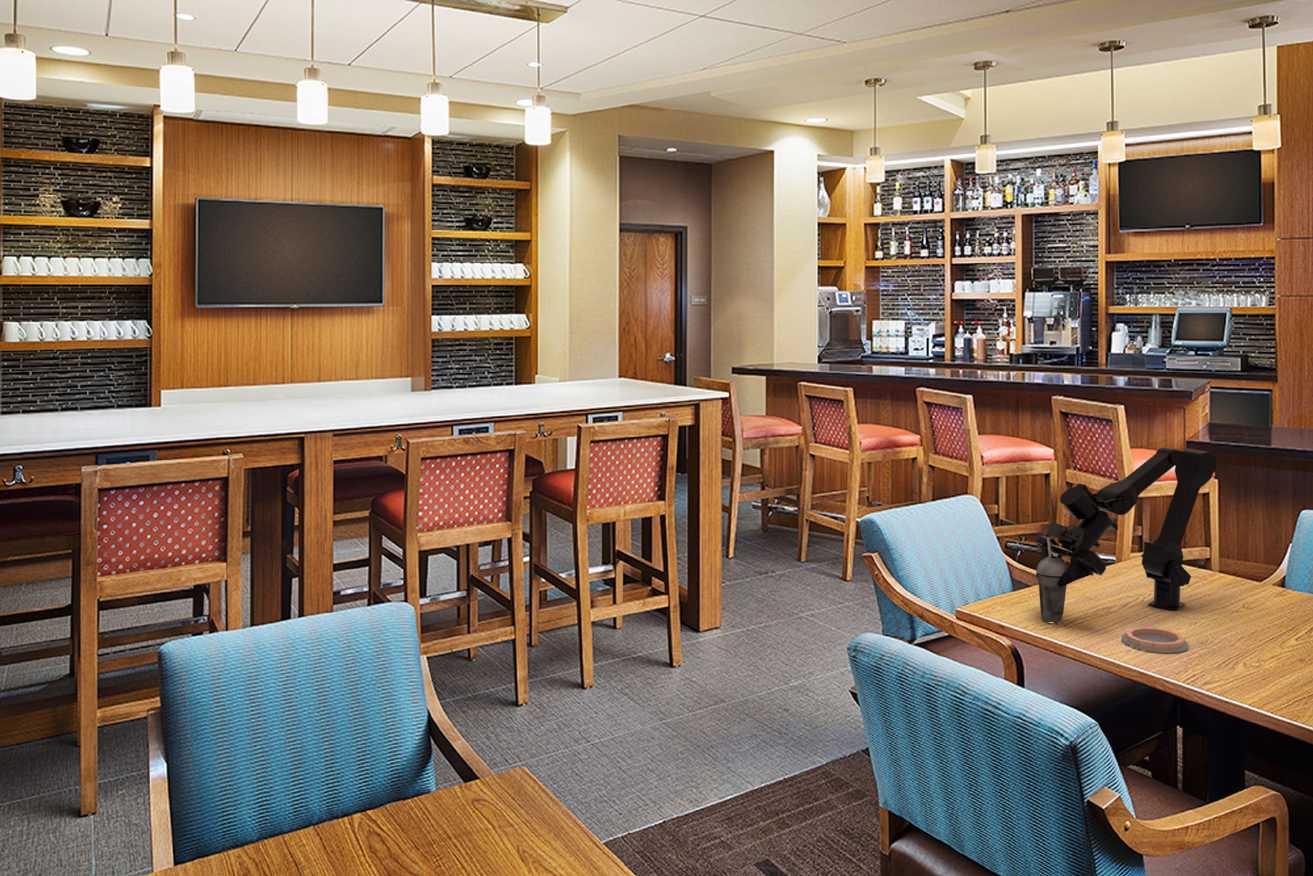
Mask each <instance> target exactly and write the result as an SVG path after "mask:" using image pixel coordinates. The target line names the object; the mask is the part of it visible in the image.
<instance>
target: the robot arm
mask: <svg viewBox="0 0 1313 876" xmlns="http://www.w3.org/2000/svg"><path fill="white" fill-rule="evenodd" d="M1174 467H1175V468H1174ZM1217 467H1218V460H1217V459H1216V457H1215V455H1214V453H1212V452H1209V451H1203V450H1197V449H1191V448H1186V449H1183V450H1182V451H1181V450H1179V449H1177V448H1171V447H1160V448H1159V449H1157V450H1156V453H1154V455H1152V456H1151V457H1150V458H1148V459H1147V460H1146V461H1144V462H1143V463H1142V464H1141V465H1140V466H1138V467H1137V468H1136V469H1135V470H1134V471H1132V472H1131V473H1130V474H1129V475H1127V476H1126V477H1124V478H1123V479H1121V480H1118V481H1115V482H1112V483H1109V484H1108V485H1106V486H1104V487H1102V488H1100V489H1098V491H1097V492H1094V493H1092V491H1090V490H1089V488H1088V486H1087V485H1086V484H1084V483H1077V485H1076V486H1073V487H1070V488H1068V489H1067V490H1066V491H1063V492H1062V493H1061V495H1060V497H1059V502H1060V504H1062V506H1063V507H1064V508H1065V509H1066V510H1067V511H1068V512H1069V513H1070V514H1071V515H1072V517H1073V518H1074V519H1076V520H1080V521H1079V522H1078V524H1077V525H1074V524H1071V523H1070V524H1069V525H1068V526H1066V525H1063V524H1059V523H1056V522H1053V521H1050V522H1049V525H1048V527H1047V530H1046V532H1045V535H1040V536H1039V537H1038V538H1037V539H1036V540H1035V542H1034V544H1035V545H1036V546H1037V547H1038V548H1039V550H1040V551H1041V552H1040V553H1041V559H1040V561H1041V560H1043V559H1044V558H1046V557H1049V552H1048V542H1047V538H1049V539H1050V549H1051V556H1056V557H1059V558H1061V559H1062V558H1064V557H1065V558H1067V559H1069V560H1070V561H1069V565H1068V568H1067V570H1066V571H1065V573H1064V574H1063V575H1062V577H1061V578H1060V580H1059V581H1058V583H1057V585H1058V586H1059V587H1063V586H1065V585H1069V584H1072V583H1074V582H1076V581H1080V580H1081V579H1084V578H1086V577H1090V576H1092V577H1093V576H1094V575H1098V576H1103V574H1104V573H1105V572H1106V570H1107V563H1106V562H1105V561H1104V560H1103V559H1102V558H1101V557H1100V556H1099V554H1097V553H1096V552H1095V551H1093V550H1092V549H1093V548H1094V549H1095V548H1096V549H1098V548H1099V547H1100V546H1101V544H1100V543H1099V540H1100V539H1101V538H1102V537H1103V535H1104V534H1105V533H1106V532H1107V530H1108V529H1109V530H1114V531H1119V530H1118V529H1119V525H1118V522H1117V520H1118V519H1117V518H1116V517H1115V518H1114V517H1112V516H1110V515H1109V514H1108V513H1110V514H1114V515H1117V516H1118V515H1119V516H1125V515H1128V513H1129V512H1130V511H1131V510H1132V508H1134V507H1135V505H1136V504H1137V502H1138V500H1139V496H1140V495H1141V494H1142V493H1143V492H1144V491H1146V490H1147V489H1148V488H1149V487H1150V486H1152V485H1153V484H1154V483H1155V482H1156V481H1159V479H1160V478H1161V477H1163V476H1164V475H1165V474H1166V473H1167V472H1169V471H1170V470H1172V469H1173V468H1174V474H1175V477H1176V486H1175V488H1174V492H1173V495H1172V498H1171V500H1170V504H1169V506H1168V509H1167V513H1166V516H1165V518H1164V521H1163V524H1162V527H1161V530H1160V533H1159V535H1158V537H1157V538H1156V539H1155V540H1154V541H1153V542H1150V541H1147V542H1146V543H1145V546H1144V550H1143V553H1142V554H1141V556H1140V557H1141V558H1142V559H1141V565H1142V566H1143V569H1144V572H1145V576H1146V578H1147V579H1152V580H1153V581H1154V582H1153V583H1154V584H1153V599H1152V600H1151V601H1150V602H1148V606H1151V607H1156V608H1160V609H1166V610H1172V611H1178V610H1180V609H1181V608H1182V607H1184V606H1185V605H1186V604H1185V603H1186V602H1183V601H1181V587H1184V586H1186V585H1187V586H1188V585H1190V581H1191V578H1192V576H1191V574H1190V573H1189V572H1188V571H1187V570H1186V569H1185V567H1183V562H1184V553H1183V549H1182V541H1183V538H1184V535H1185V533H1186V530H1187V527H1188V524H1189V521H1190V518H1191V515H1192V512H1193V510H1194V507H1195V504H1196V500H1197V497H1198V495H1199V492H1200V489H1202V487H1204V486H1205V485H1206V484H1207V483H1208V482H1210V481H1211V479H1212V477H1213V475H1214V473H1215V471H1216V469H1217ZM1046 535H1047V536H1046ZM1048 536H1051V537H1048ZM1052 537H1054V538H1056V540H1055V539H1054V538H1052ZM1060 544H1061V545H1060ZM1035 577H1036V578H1037V573H1036V574H1035Z"/></svg>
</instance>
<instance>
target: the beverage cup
mask: <svg viewBox="0 0 1313 876" xmlns="http://www.w3.org/2000/svg"><path fill="white" fill-rule="evenodd" d="M1049 538H1050V537H1049ZM1049 538H1047V542H1048V552H1049V557H1046V558H1044V559H1043V560H1041V559H1040V562H1039V563H1038V564H1037V566H1036V567H1037V568H1036V572H1035V573H1036V574H1037V577H1036V579H1037V583H1038V592H1039V594H1038V595H1039V608H1040V616H1041V621H1042V622H1043V621H1044V622H1043V623H1045V622H1053V623H1059V622H1061V623H1062V622H1063V616H1064V610H1065V609H1064V608H1065V602H1066V593H1067V585H1068V584H1067V585H1065V586H1063V587H1059V586H1058V585H1057V583H1058V581H1059V580H1060V578H1061V577H1062V575H1063V574H1064V573H1065V571H1066V570H1067V568H1068V567H1069V565H1068V564H1067V563H1066V562H1065V560H1063V559H1062V558H1059V557H1056V556H1051V549H1050V539H1049ZM1059 624H1060V623H1059Z"/></svg>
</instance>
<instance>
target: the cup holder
mask: <svg viewBox="0 0 1313 876" xmlns="http://www.w3.org/2000/svg"><path fill="white" fill-rule="evenodd" d="M1120 639H1121V642H1122V643H1123V644H1124V643H1125V644H1126V645H1125V644H1124V645H1125V646H1127V645H1128V646H1127V647H1129V646H1132V647H1134V648H1137V649H1140V650H1139V651H1141V650H1145V651H1148V652H1147V653H1151V652H1155V653H1154V654H1160V653H1161V654H1162V653H1163V654H1164V655H1170V654H1171V655H1174V653H1175V654H1181V653H1184V652H1186V650H1187V651H1188V650H1189V643H1188V642H1187V640H1185V638H1184V637H1183V635H1182V634H1180V633H1178V632H1174V631H1173V630H1169V629H1164V628H1161V627H1149V626H1148V627H1146V626H1144V627H1143V626H1140V627H1133V628H1130V629H1128V630H1126V631H1125V633H1123V634H1122V635H1121V638H1120ZM1134 648H1133V649H1134ZM1137 649H1136V650H1137ZM1145 651H1144V652H1145ZM1167 653H1168V654H1167ZM1163 654H1162V655H1163Z"/></svg>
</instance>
